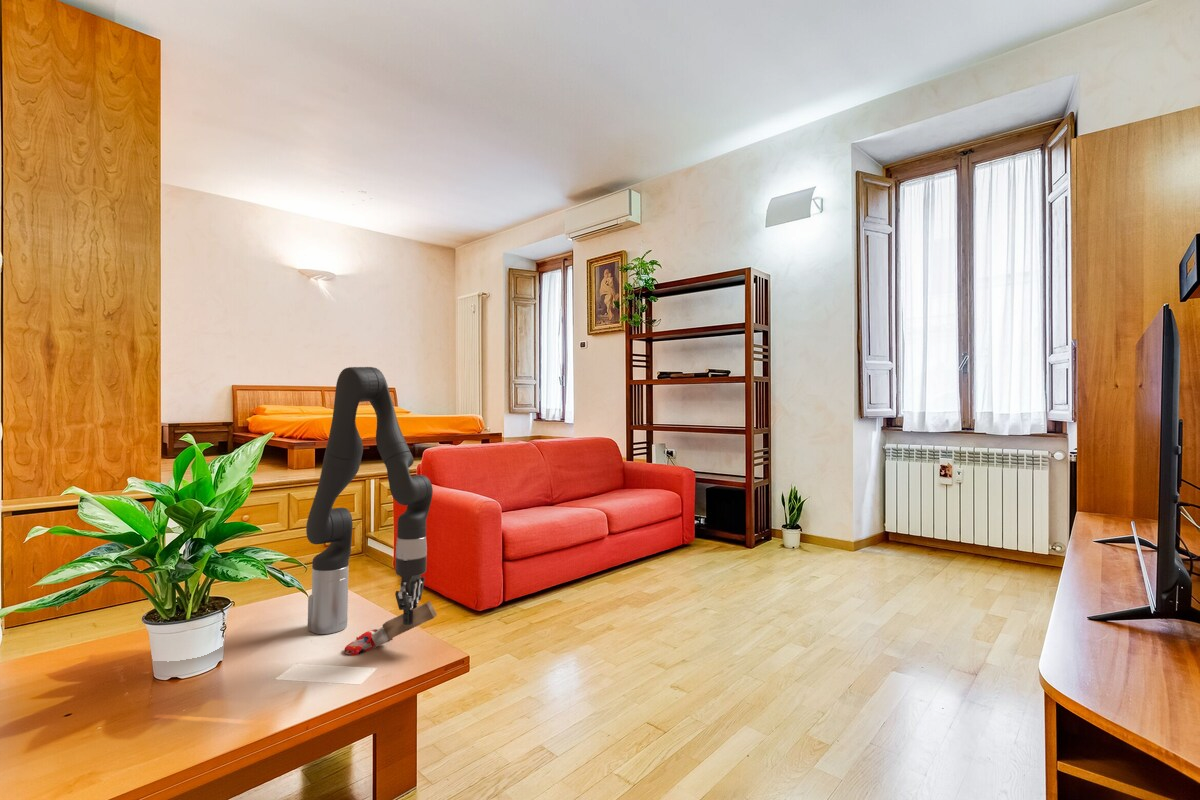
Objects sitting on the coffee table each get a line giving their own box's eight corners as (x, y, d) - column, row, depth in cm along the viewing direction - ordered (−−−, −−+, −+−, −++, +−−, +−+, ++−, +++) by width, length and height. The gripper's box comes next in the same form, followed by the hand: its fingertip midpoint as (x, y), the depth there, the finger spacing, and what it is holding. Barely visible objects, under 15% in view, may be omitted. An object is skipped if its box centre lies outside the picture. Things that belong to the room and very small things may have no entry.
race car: (353, 661, 141) (353, 645, 141) (339, 656, 144) (339, 640, 144) (396, 642, 153) (396, 627, 153) (382, 637, 156) (382, 623, 156)
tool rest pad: (274, 682, 129) (274, 679, 129) (296, 666, 137) (296, 663, 137) (360, 687, 128) (360, 684, 128) (377, 670, 136) (377, 668, 136)
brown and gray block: (376, 646, 145) (369, 632, 145) (385, 638, 150) (378, 624, 150) (431, 620, 144) (424, 605, 144) (438, 612, 149) (432, 598, 149)
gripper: (408, 547, 154) (406, 612, 154) (385, 561, 140) (383, 632, 140) (435, 548, 153) (434, 613, 153) (414, 562, 140) (413, 633, 140)
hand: (410, 622), depth 147 cm, fingers closed on brown and gray block, 2 cm apart
